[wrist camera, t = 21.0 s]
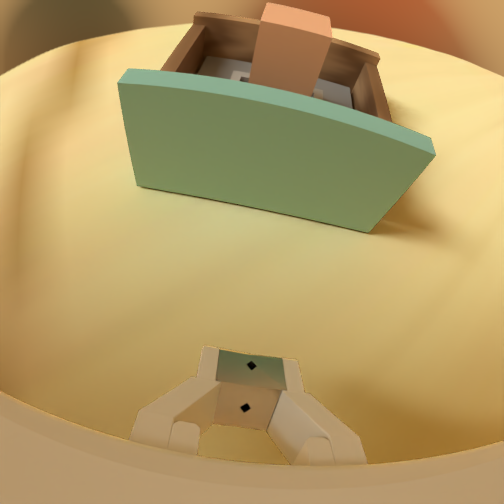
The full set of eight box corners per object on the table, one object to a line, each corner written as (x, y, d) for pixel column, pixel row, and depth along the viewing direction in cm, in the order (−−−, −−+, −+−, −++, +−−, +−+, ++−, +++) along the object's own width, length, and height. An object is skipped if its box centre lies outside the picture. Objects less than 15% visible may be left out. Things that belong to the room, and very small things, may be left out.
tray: (137, 185, 22) (117, 82, 14) (194, 65, 29) (200, -12, 21) (368, 232, 23) (435, 155, 15) (355, 100, 30) (388, 33, 22)
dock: (139, 167, 23) (128, 106, 17) (194, 59, 30) (197, 11, 24) (371, 215, 24) (410, 168, 19) (357, 95, 31) (378, 53, 26)
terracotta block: (241, 121, 24) (260, 20, 16) (248, 92, 26) (267, 2, 18) (297, 133, 24) (332, 38, 16) (299, 104, 26) (329, 17, 18)
